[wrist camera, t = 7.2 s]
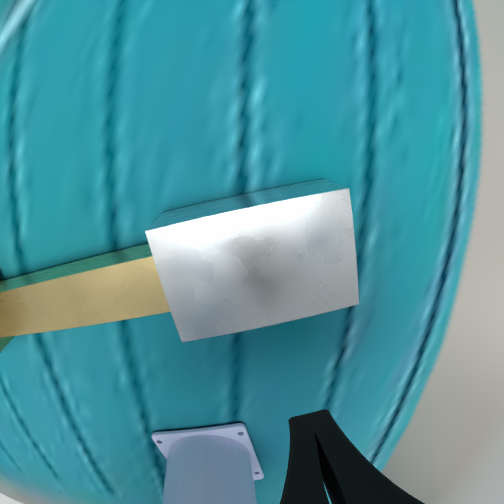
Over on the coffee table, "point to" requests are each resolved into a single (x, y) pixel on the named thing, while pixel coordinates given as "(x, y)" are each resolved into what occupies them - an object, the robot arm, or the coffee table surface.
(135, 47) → the coffee table surface
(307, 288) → the sleeve
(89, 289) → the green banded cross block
